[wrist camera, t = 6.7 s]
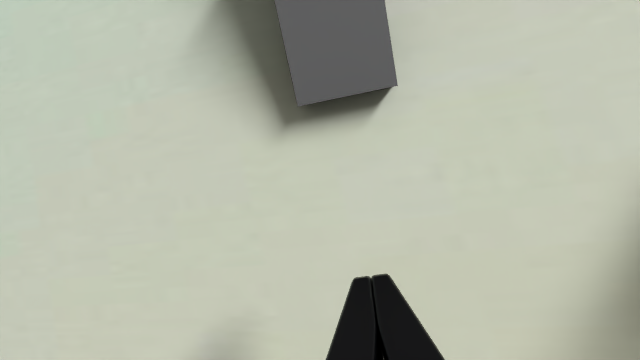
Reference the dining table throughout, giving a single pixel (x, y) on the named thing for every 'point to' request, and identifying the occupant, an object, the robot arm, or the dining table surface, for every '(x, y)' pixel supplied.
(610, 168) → the dining table surface
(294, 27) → the domino
